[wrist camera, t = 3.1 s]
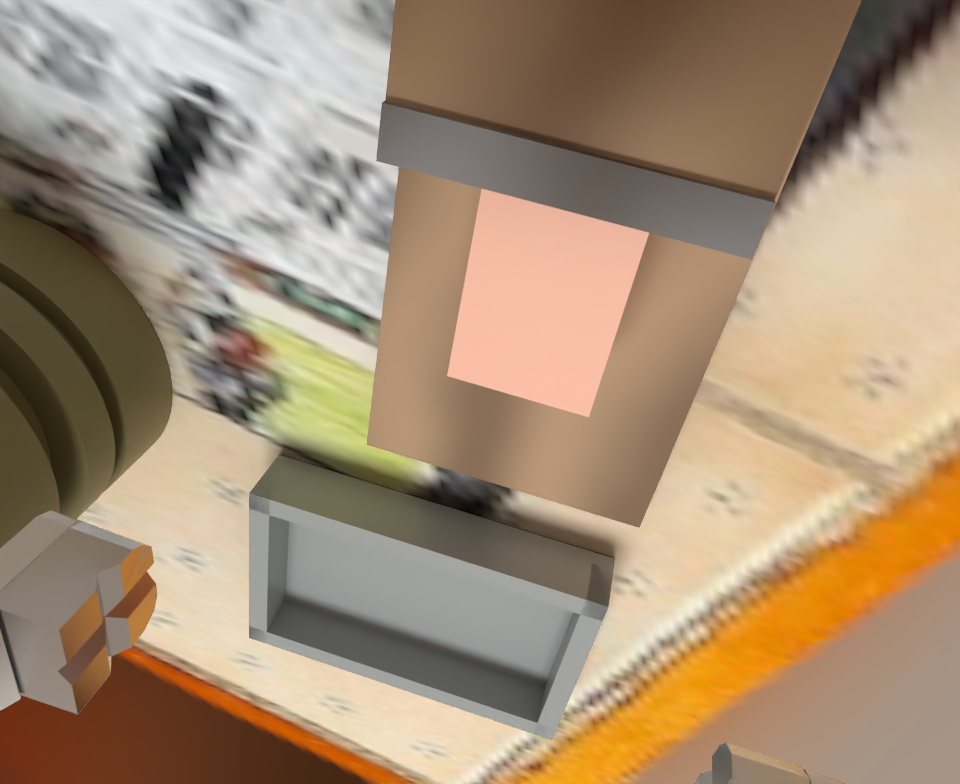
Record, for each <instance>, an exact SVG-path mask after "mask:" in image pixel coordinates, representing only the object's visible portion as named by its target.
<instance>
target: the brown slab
mask: <svg viewBox="0 0 960 784" xmlns="http://www.w3.org/2000/svg"><path fill="white" fill-rule="evenodd" d="M861 1H862V0H396V3H395V13H394V23H393V33H392V42H391V52H390V62H389V72H388V82H387V92H386V101H384V102H382V110H381V120H380V130H379V140H378V150H377V160H376V161H379V162H383V163H387V164H390V165H394V166H398V167H399V174H398V183H397V191H396V200H395V208H394V217H393V225H392V234H391V242H390V251H389V260H388V268H387V277H386V285H385V294H384V302H383V311H382V319H381V328H380V336H379V345H378V353H377V362H376V370H375V379H374V387H373V396H372V404H371V413H370V421H369V430H368V438H367V445H370V446H373V447H376V448H380V449H383V450H386V451H390V452H393V453H396V454H399V455H403V456H406V457H409V458H413V459H416V460H419V461H422V462H426V463H429V464H432V465H436V466H439V467H442V468H445V469H449V470H452V471H455V472H459V473H462V474H465V475H468V476H472V477H475V478H478V479H481V480H485V481H488V482H491V483H495V484H498V485H501V486H504V487H508V488H511V489H514V490H518V491H521V492H524V493H527V494H531V495H534V496H537V497H541V498H544V499H547V500H550V501H554V502H557V503H560V504H564V505H567V506H570V507H573V508H577V509H580V510H583V511H587V512H590V513H593V514H596V515H600V516H603V517H606V518H610V519H613V520H616V521H619V522H623V523H626V524H629V525H633V526H636V527H640V525H641V523H642V520H643V518H644V515H645V513H646V511H647V508H648V506H649V504H650V501H651V499H652V496H653V494H654V492H655V489H656V487H657V485H658V482H659V480H660V477H661V475H662V473H663V470H664V468H665V466H666V463H667V461H668V459H669V456H670V454H671V451H672V449H673V447H674V444H675V442H676V440H677V437H678V435H679V432H680V430H681V428H682V425H683V423H684V421H685V418H686V416H687V413H688V411H689V409H690V406H691V404H692V402H693V399H694V397H695V395H696V392H697V390H698V387H699V385H700V383H701V380H702V378H703V376H704V373H705V371H706V368H707V366H708V364H709V361H710V359H711V357H712V354H713V352H714V349H715V347H716V345H717V342H718V340H719V338H720V335H721V333H722V331H723V328H724V326H725V323H726V321H727V319H728V316H729V314H730V312H731V309H732V307H733V304H734V302H735V300H736V297H737V295H738V293H739V290H740V288H741V285H742V283H743V281H744V278H745V276H746V274H747V271H748V269H749V267H750V264H751V262H752V259H753V257H754V255H755V252H756V250H757V248H758V245H759V243H760V240H761V238H762V236H763V233H764V231H765V229H766V226H767V224H768V221H769V219H770V217H771V214H772V212H773V210H774V207H775V205H776V203H777V200H778V198H779V195H780V193H781V191H782V188H783V186H784V184H785V181H786V179H787V176H788V174H789V172H790V169H791V167H792V165H793V162H794V160H795V157H796V155H797V153H798V150H799V148H800V146H801V143H802V141H803V139H804V136H805V134H806V131H807V129H808V127H809V124H810V122H811V120H812V117H813V115H814V112H815V110H816V108H817V105H818V103H819V101H820V98H821V96H822V93H823V91H824V89H825V86H826V84H827V82H828V79H829V77H830V75H831V72H832V70H833V67H834V65H835V63H836V60H837V58H838V56H839V53H840V51H841V48H842V46H843V44H844V41H845V39H846V37H847V34H848V32H849V29H850V27H851V25H852V22H853V20H854V18H855V15H856V13H857V11H858V8H859V6H860V3H861ZM481 189H485V190H489V191H493V192H497V193H500V194H504V195H508V196H512V197H516V198H519V199H523V200H527V201H531V202H535V203H538V204H542V205H546V206H550V207H554V208H557V209H561V210H565V211H569V212H572V213H576V214H580V215H584V216H588V217H591V218H595V219H599V220H603V221H607V222H610V223H614V224H618V225H622V226H626V227H629V228H633V229H637V230H641V231H645V232H648V233H649V235H648V238H647V241H646V244H645V247H644V250H643V254H642V257H641V260H640V263H639V266H638V269H637V272H636V275H635V278H634V281H633V284H632V287H631V290H630V293H629V296H628V299H627V302H626V305H625V308H624V311H623V314H622V318H621V321H620V324H619V327H618V330H617V333H616V336H615V339H614V342H613V345H612V348H611V351H610V354H609V357H608V360H607V363H606V366H605V369H604V372H603V375H602V378H601V381H600V385H599V388H598V391H597V394H596V397H595V400H594V403H593V406H592V409H591V412H590V415H589V417H586V416H582V415H579V414H576V413H572V412H569V411H565V410H562V409H558V408H555V407H552V406H548V405H545V404H541V403H538V402H534V401H531V400H528V399H524V398H521V397H517V396H514V395H510V394H507V393H504V392H500V391H497V390H493V389H490V388H486V387H483V386H480V385H476V384H473V383H469V382H466V381H462V380H459V379H456V378H452V377H449V376H447V374H448V368H449V363H450V357H451V352H452V346H453V341H454V336H455V330H456V325H457V319H458V314H459V308H460V303H461V298H462V292H463V287H464V281H465V276H466V271H467V265H468V260H469V254H470V249H471V243H472V238H473V233H474V227H475V222H476V216H477V211H478V205H479V200H480V195H481Z"/></svg>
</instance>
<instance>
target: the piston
mask: <svg viewBox="0 0 960 784" xmlns="http://www.w3.org/2000/svg"><path fill="white" fill-rule="evenodd" d="M171 407H172V380H171V374H170V369H169V365H168V362H167V358H166V355H165V352H164V349H163V347H162V344H161V342H160V340H159V337H158V335H157V333H156V331H155V329H154V327H153V326H152V324H151V322H150V320H149V318H148V317H147V315H146V314H145V312H144V310H143V309H142V308H141V306H140V305H139V303H138V302H137V300H136V299H135V298H134V296H133V295H132V294H131V293H130V291H129V290H128V289H127V288H126V287H125V285H124V284H123V283H122V282H121V281H120V280H119V279H118V278H117V277H116V275H115V274H114V273H113V272H112V271H111V270H110V269H109V268H108V267H106V266H105V265H104V264H103V263H102V262H101V261H100V260H99V259H98V258H96V257H95V256H94V255H93V254H92V253H90V252H89V251H88V250H86V249H85V248H84V247H83V246H81V245H80V244H78V243H77V242H75V241H74V240H73V239H71V238H69V237H68V236H66V235H65V234H63V233H61V232H59V231H58V230H56V229H54V228H52V227H50V226H48V225H46V224H44V223H42V222H40V221H37V220H35V219H33V218H30V217H27V216H24V215H21V214H18V213H14V212H10V211H6V210H0V548H1V547H2V546H4V545H5V544H6V543H7V542H8V541H9V540H10V539H12V538H13V537H14V536H15V535H16V534H17V533H18V532H19V531H21V530H22V529H23V528H24V527H25V526H26V525H27V524H29V523H30V522H31V521H32V520H33V519H34V518H35V517H37V516H39V515H41V514H43V513H46V512H48V511H54V512H57V513H60V514H63V515H66V516H69V517H72V518H74V519H77V518H78V517H79V516H80V515H81V514H82V513H83V512H84V511H85V510H86V509H87V508H88V507H89V506H90V505H91V504H92V503H93V502H94V501H95V500H96V499H97V498H98V497H99V496H100V495H101V494H102V493H103V492H104V491H105V490H106V489H108V488H109V487H110V486H111V485H112V484H113V483H114V482H115V481H116V480H117V479H118V478H119V477H120V476H121V475H122V474H123V473H124V472H125V471H126V470H127V469H128V468H129V467H130V466H131V465H132V464H133V463H134V462H136V461H137V460H138V459H139V458H140V457H141V456H142V455H143V454H144V453H145V452H146V451H147V450H148V449H149V448H150V447H151V446H152V445H153V444H154V443H155V442H156V441H157V440H158V438H159V437H160V436H161V434H162V433H163V431H164V429H165V427H166V425H167V423H168V420H169V417H170V412H171Z"/></svg>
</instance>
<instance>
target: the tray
mask: <svg viewBox="0 0 960 784" xmlns="http://www.w3.org/2000/svg"><path fill="white" fill-rule="evenodd" d="M614 560H615V559H614V558H611V557H608V556H605V555H602V554H598V553H595V552H592V551H589V550H585V549H582V548H579V547H576V546H572V545H569V544H566V543H563V542H560V541H556V540H553V539H550V538H547V537H543V536H540V535H537V534H534V533H531V532H527V531H524V530H521V529H518V528H514V527H511V526H508V525H505V524H501V523H498V522H495V521H492V520H489V519H485V518H482V517H479V516H476V515H472V514H469V513H466V512H463V511H460V510H456V509H453V508H450V507H447V506H443V505H440V504H437V503H434V502H431V501H427V500H424V499H421V498H418V497H414V496H411V495H408V494H405V493H401V492H398V491H395V490H392V489H389V488H385V487H382V486H379V485H376V484H372V483H369V482H366V481H363V480H360V479H356V478H353V477H350V476H347V475H343V474H340V473H337V472H334V471H330V470H327V469H324V468H321V467H318V466H314V465H311V464H308V463H305V462H301V461H298V460H295V459H292V458H289V457H285V456H282V455H279V456H278V457H277V458H276V460H275V461H274V462H273V463H272V465H271V466H270V467H269V469H268V470H267V471H266V472H265V474H264V475H263V476H262V478H261V479H260V480H259V481H258V483H257V484H256V485H255V487H254V488H253V489H252V491H251V492H250V493H249V638H252V639H254V640H257V641H260V642H263V643H266V644H269V645H272V646H275V647H278V648H281V649H284V650H287V651H290V652H293V653H296V654H299V655H302V656H305V657H308V658H311V659H314V660H317V661H320V662H323V663H325V664H328V665H331V666H334V667H337V668H340V669H343V670H346V671H349V672H352V673H355V674H358V675H361V676H364V677H367V678H370V679H373V680H376V681H379V682H382V683H385V684H388V685H391V686H394V687H397V688H399V689H402V690H405V691H408V692H411V693H414V694H417V695H420V696H423V697H426V698H429V699H432V700H435V701H438V702H441V703H444V704H447V705H450V706H453V707H456V708H459V709H462V710H465V711H468V712H471V713H473V714H476V715H479V716H482V717H485V718H488V719H491V720H494V721H497V722H500V723H503V724H506V725H509V726H512V727H515V728H518V729H521V730H524V731H527V732H530V733H533V734H536V735H539V736H542V737H544V738H547V739H550V740H552V738H553V736H554V734H555V731H556V729H557V727H558V724H559V722H560V720H561V717H562V715H563V713H564V710H565V708H566V705H567V703H568V701H569V698H570V696H571V694H572V691H573V689H574V687H575V684H576V682H577V680H578V677H579V675H580V672H581V670H582V668H583V665H584V663H585V661H586V658H587V656H588V654H589V651H590V649H591V647H592V644H593V642H594V640H595V637H596V635H597V632H598V630H599V628H600V625H601V623H602V621H603V618H604V616H605V614H606V611H607V609H608V606H609V598H610V590H611V583H612V575H613V567H614Z"/></svg>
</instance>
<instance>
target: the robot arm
mask: <svg viewBox="0 0 960 784" xmlns="http://www.w3.org/2000/svg"><path fill="white" fill-rule="evenodd" d="M153 563H154V560H153V554H152V548H151V546H149V545H146V544H143V543H140V542H137V541H135V540H132V539H129V538H126V537H124V536H121V535H118V534H115V533H113V532H110V531H107V530H104V529H102V528H99V527H96V526H93V525H90V524H88V523H86V522H83V521H80V520H77V519H74V518H72V517H69V516H66V515H63V514H60V513H57V512H54V511H48V512H46V513H43V514H41V515H39V516H37V517H35V518H34V519H33V520H32V521H31V522H30V523H29V524H27V525H26V526H25V527H24V528H23V529H22V530H21V531H19V532H18V533H17V534H16V535H15V536H14V537H13V538H12V539H10V540H9V541H8V542H7V543H6V544H5V545H4V546H2V547H1V548H0V710H2V709H4V708H5V707H7V706H9V705H11V704H13V703H14V702H16V701H18V700H20V698H21V697H20V695H22V696H25V697H28V698H31V699H34V700H37V701H40V702H43V703H46V704H49V705H52V706H55V707H58V708H61V709H64V710H66V711H70V712H72V713H75V714H78V713H79V712H80V711H81V710H82V709H83V707H84V706H85V705H86V704H87V702H88V701H89V700H90V699H91V697H92V696H93V695H94V694H95V692H96V691H97V690H98V689H99V687H100V686H101V685H102V684H103V682H104V681H105V680H106V679H107V677H108V676H109V675H110V674H111V656H113V655H116V654H118V653H120V652H122V651H124V650H126V649H129V648H131V647H132V646H133V645H134V643H135V642H136V641H137V639H138V638H139V637H140V635H141V634H142V633H143V631H144V630H145V628H146V626H147V624H148V622H149V620H150V618H151V616H152V614H153V612H154V608H155V603H156V598H157V589H156V583H155V582H154V580H153V579H152V578H151V577H150V575H149V574H148V573H147V570H148V569H149V568H150V567H151V566H152V564H153ZM712 762H713V763H712V769H713V770H712V771H709V772H705V773H702V774H700V776H699V777H698V779H697V781H696V782H695V784H845V783H843V782H841V781H839V780H836V779H833V778H829V777H826V776H823V775H820V774H817V773H813V772H810V771H807V770H804V769H802V768H801V767H800V766H797V765H794V764H791V763H788V762H785V761H782V760H778V759H775V758H772V757H769V756H766V755H763V754H760V753H757V752H754V751H751V750H748V749H745V748H742V747H739V746H736V745H732V744H729V743H724V744H722V745H720V746H719V747H718V749H717V750H716V751H715V753H714V754H713V756H712Z"/></svg>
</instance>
